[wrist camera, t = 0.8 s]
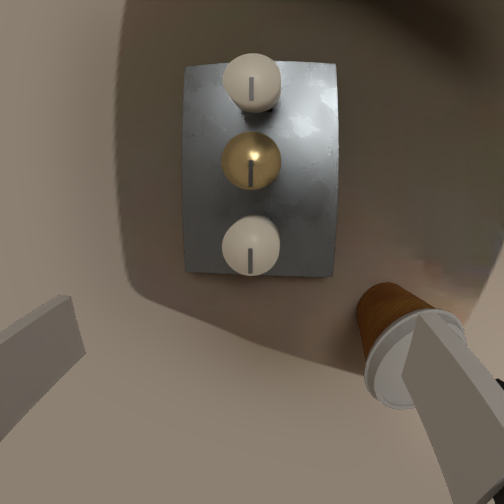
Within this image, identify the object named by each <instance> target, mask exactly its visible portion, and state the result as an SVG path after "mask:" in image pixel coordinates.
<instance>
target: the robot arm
mask: <svg viewBox="0 0 504 504" xmlns="http://www.w3.org/2000/svg"><path fill="white" fill-rule="evenodd" d="M85 354H86V352H85V348H84V345H83V342H82V338H81V335H80V332H79V327H78V324H77V320H76V316H75V312H74V307H73V303H72V299H71V296H65V295H57V296H56V297H54V298H52V299H51V300H49V301H48V302H46V303H44V304H43V305H41V306H40V307H38V308H36V309H35V310H33V311H32V312H30V313H29V314H27V315H25V316H24V317H22V318H21V319H19V320H18V321H16V322H15V323H14V324H12V325H10V326H9V327H7V328H6V329H4V330H3V331H1V332H0V442H1V441H2V439H3V438H4V437H5V436H6V435H7V434H8V433H9V432H10V431H11V430H12V429H13V427H14V426H15V425H16V424H17V423H18V422H19V421H20V420H21V419H22V418H23V417H24V416H25V414H27V413H28V411H29V410H30V409H31V408H32V407H33V406H34V405H35V404H36V403H37V402H38V401H39V400H40V399H41V398H42V397H43V396H44V395H45V394H46V393H47V392H48V391H49V390H50V389H51V388H52V386H54V384H55V383H56V382H57V381H59V379H60V378H61V377H62V376H63V375H64V374H65V373H66V372H67V371H68V370H69V369H70V368H71V367H72V366H73V365H74V364H75V363H76V362H78V361H79V360H80V358H82V357H83V356H84V355H85ZM401 377H402V379H403V381H404V383H405V385H406V388H407V390H408V392H409V394H410V396H411V398H412V400H413V403H414V405H415V407H416V409H417V412H418V414H419V416H420V418H421V421H422V423H423V425H424V427H425V430H426V432H427V434H428V437H429V440H430V442H431V444H432V447H433V449H434V452H435V454H436V457H437V459H438V462H439V465H440V467H441V470H442V473H443V475H444V478H445V481H446V483H447V486H448V489H449V492H450V495H451V498H452V501H453V504H487V503H488V502H489V501H490V500H491V499H492V498H493V499H494V501H495V504H504V382H503V381H501V380H500V379H494V378H493V376H492V375H491V374H490V373H489V371H488V370H487V369H486V368H485V366H484V365H483V364H482V363H481V362H480V361H479V359H478V358H477V357H476V356H475V355H474V354H473V352H472V351H471V350H470V349H469V348H468V347H467V345H466V344H465V343H464V342H463V341H462V340H461V339H460V338H459V336H458V335H457V334H456V333H455V332H454V331H453V330H452V329H451V328H450V327H449V325H448V324H447V323H446V322H445V321H444V320H443V319H442V318H441V317H440V316H439V315H438V314H437V313H436V312H425V313H418V315H417V320H416V324H415V328H414V332H413V336H412V340H411V344H410V347H409V351H408V355H407V358H406V361H405V365H404V368H403V371H402V374H401Z"/></svg>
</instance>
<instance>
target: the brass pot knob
mask: <svg viewBox="0 0 504 504" xmlns="http://www.w3.org/2000/svg"><path fill="white" fill-rule="evenodd" d="M221 162H222V169H223V172H224V174H225V176H226V177H227V179H228V180H229V181H230V182H231V183H232V184H234V185H235V186H237V187H239V188H242V189H246V190H256V189H260V188H263V187H266V186H268V185H269V184H271V183H272V182H273V181H274V180H275V179H276V178H277V176H278V175H279V173H280V170H281V154H280V151H279V148H278V146H277V145H276V143H275V142H274V141H273V140H272V139H271V138H270V137H268V136H267V135H265V134H263V133H260V132H254V131H249V132H243V133H240V134H238V135H236V136H235V137H233V138H232V139H231V140H230V141H229V142H228V143H227V145H226V146H225V148H224V150H223V153H222V160H221Z"/></svg>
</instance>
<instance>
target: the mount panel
mask: <svg viewBox="0 0 504 504" xmlns="http://www.w3.org/2000/svg"><path fill="white" fill-rule="evenodd" d="M274 62H275V63H276V64H277V66H278V68H279V70H280V74H281V96H280V98H279V100H278V102H277V103H276V104H275V105H274V106H273V112H261V113H249V112H246V111H243V110H242V109H240V108H239V107H237V106H236V105H235V103H234V102H233V101H232V99H231V98H230V96H229V95H228V93H227V92H226V90H225V88H224V85H223V74H224V71H225V69H226V67H227V66H228V64H229V63H219V64H208V65H199V66H190V67H185V77H184V96H183V125H182V207H183V237H184V258H185V272H199V273H221V274H240V273H238V272H236V271H235V270H233V269H232V268H231V267H230V266H229V265H228V264H227V262H226V260H225V258H224V256H223V252H222V242H223V238H224V236H225V234H226V232H227V230H228V229H229V228H230V227H231V226H232V225H233V224H234V223H236V222H237V221H238V220H239V219H240V218H242V217H244V216H247V215H251V214H257V215H262V216H265V217H267V218H268V219H272V222H273V223H274V224H275V225H276V227H277V229H278V231H279V235H280V250H279V256H278V259H277V261H276V263H275V264H274V265H273V267H272V268H271V269H269V270H268V271H267V272H265V273H263V274H260V275H271V276H303V277H333V267H334V254H335V240H336V223H337V201H338V99H337V78H336V64H327V63H314V62H291V61H274ZM249 131H254V132H260V133H263V134H265V135H267V136H268V137H270V138H271V139H272V140H273V141H274V142H275V143H276V145H277V146H278V148H279V151H280V154H281V170H280V173H279V175H278V176H277V178H276V179H275V180H274V181H273V182H272V183H271V184H269V185H268V186H266V187H263V188H260V189H256V190H246V189H242V188H239V187H237V186H235V185H234V184H232V183H231V182H230V181H229V180H228V179H227V177H226V176H225V174H224V172H223V169H222V162H221V160H222V153H223V150H224V148H225V146H226V145H227V143H228V142H229V141H230V140H231V139H232V138H233V137H235V136H236V135H238V134H240V133H243V132H249Z"/></svg>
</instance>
